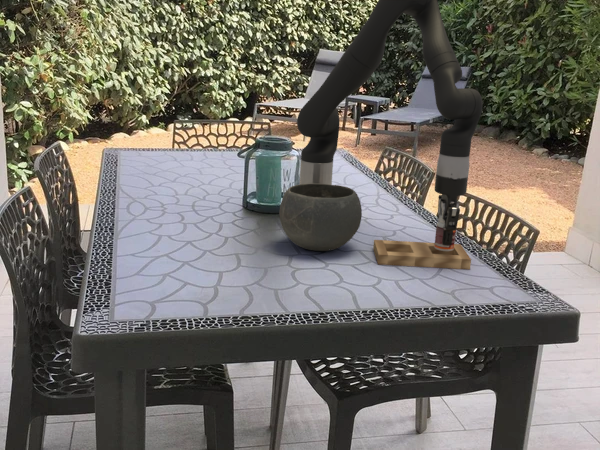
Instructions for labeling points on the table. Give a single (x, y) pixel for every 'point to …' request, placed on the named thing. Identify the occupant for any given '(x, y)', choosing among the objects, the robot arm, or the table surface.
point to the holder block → (419, 255)
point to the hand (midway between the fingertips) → (444, 241)
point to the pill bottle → (439, 236)
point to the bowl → (320, 215)
